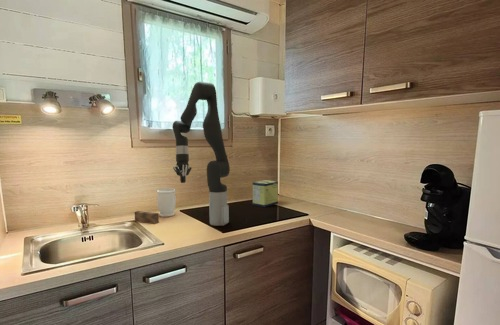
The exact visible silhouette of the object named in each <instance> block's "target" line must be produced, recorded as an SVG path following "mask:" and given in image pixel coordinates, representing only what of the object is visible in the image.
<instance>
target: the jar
mask: <svg viewBox="0 0 500 325" xmlns="http://www.w3.org/2000/svg"><path fill="white" fill-rule="evenodd" d="M175 192H176V189H175V188H160V189H157V190H156V193H157V196H156V204H157V209H158V212H159V213H158V214H159V217H162V218H163V217H164V218H168V217H172V216H174V215H175V209H176V204H177V197H176V193H175Z"/></svg>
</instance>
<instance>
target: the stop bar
mask: <svg viewBox="0 0 500 325" xmlns="http://www.w3.org/2000/svg"><path fill="white" fill-rule="evenodd" d="M159 214H160V213H158V212H151V211H143V210H142V211H141V210H136V211H134V221H135V222H142V223H148V224H154V225H155V224H158V223H159V217H160V216H159Z"/></svg>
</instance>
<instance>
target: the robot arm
mask: <svg viewBox="0 0 500 325" xmlns="http://www.w3.org/2000/svg"><path fill="white" fill-rule="evenodd" d="M217 98H218V97H217V89H216V86H215V85H214V83H212V82H206V81H205V82H204V81H197V82H195V83H194V84H193V87H192V89H191V92H190V95H189V98H188V100H187V103H186V106H185V108H184V110H183V112H182V114H181V115H180V120H174V122H173V123H172V126H171V127H172V131H173V134H174V138H175V162H176V164H175V166H173V171H174V172H175V174H176V175H177V176H179V177H180V184H185V183H186V177H187V176H189V174H190V172H191V171H192V169H193V168H192V166H191V167H190V166H189V165H190V164H189V161H190V156H189V155H190V154H189V152H190V151H189V139H188V137H187V136H184V135H182V134H188V133H189V132H190V131H191V127H192V124H193V121H194V120H195V118H196V116H197V113H198V109H197V103H198V102H199V101H206V104H207V112H206V114H205V116H204V120H203V122H202V130H203V134H204V135H203V136H204V139H205V140H206V142H207V144H208V145H209V147H210V148H211V149H212V150H213V153H214V156H215V160H211V161H209V162H208V163H207V165H206V179H207V180H206V182H207V187H208V194H209V195H208V198H209V199H208V203H209V204H208V207H209V208H208V209H209V214H208V215H209V225H211V226H218V227H219V226H225V225H227V224H228V223H229V222H230V220H229V219H230V217H229V216H230V215H229V213H230V212H229V207H230V206H229V204H228V187H227V185H226V184H224V183H222V182H221V178H226V177H228V176H229V175H230V170H231V168H230V163H229V159H228V155H227V152H226V149H225V143H224V138H223V132H222V127H221V122H220V116H219V110H218V99H217Z"/></svg>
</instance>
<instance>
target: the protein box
mask: <svg viewBox="0 0 500 325" xmlns="http://www.w3.org/2000/svg"><path fill="white" fill-rule="evenodd" d="M278 203H279V181H276V180H269V179H265V180H264V179H263V180H259V181H254V182H253V181H252V206H257V207H261V208H266V207H269V206H273V205H277V204H278Z"/></svg>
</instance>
